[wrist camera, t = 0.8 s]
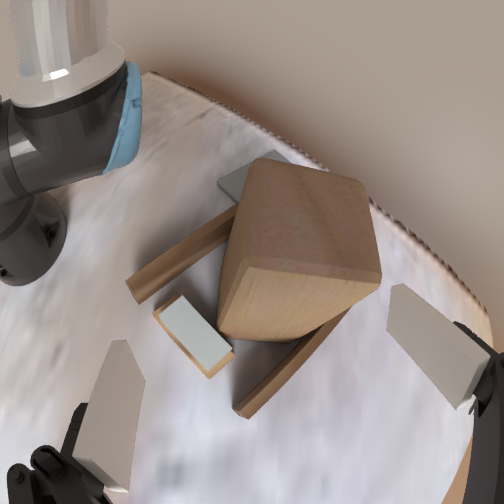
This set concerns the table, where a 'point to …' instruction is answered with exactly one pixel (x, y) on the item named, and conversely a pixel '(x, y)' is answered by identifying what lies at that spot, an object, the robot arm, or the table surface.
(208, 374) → the offcut slab lower
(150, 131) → the table surface
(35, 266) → the robot arm
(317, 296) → the wooden block
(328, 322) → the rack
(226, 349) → the offcut slab upper
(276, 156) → the mat
